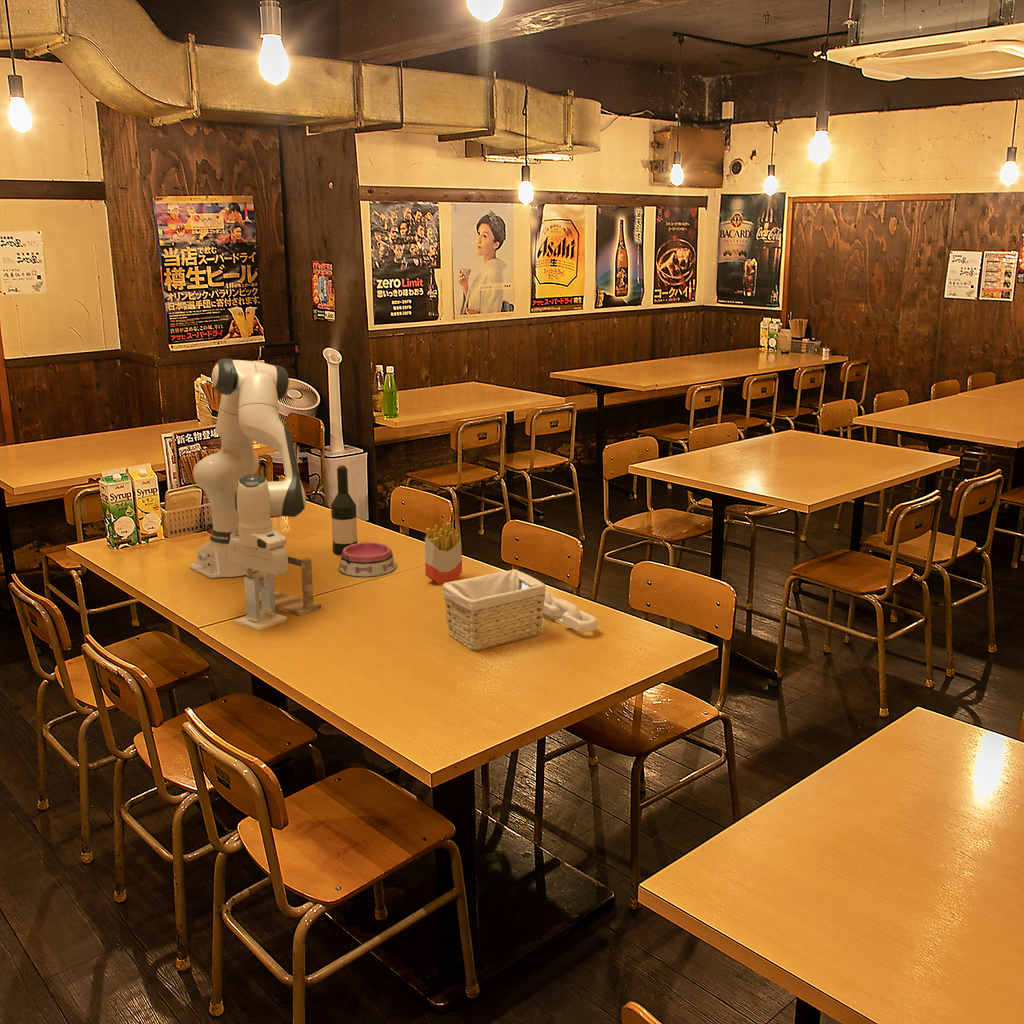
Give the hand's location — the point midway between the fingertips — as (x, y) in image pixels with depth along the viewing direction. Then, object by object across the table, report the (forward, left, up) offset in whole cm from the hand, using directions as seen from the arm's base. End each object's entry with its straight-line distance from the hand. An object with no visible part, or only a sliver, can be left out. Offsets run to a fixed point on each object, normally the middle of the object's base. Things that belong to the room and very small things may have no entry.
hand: (259, 584), depth 264 cm
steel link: (0, 0, -9) cm, 9 cm away
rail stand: (-3, +13, -11) cm, 17 cm away
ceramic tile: (0, 0, -11) cm, 11 cm away
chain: (+66, +49, -11) cm, 83 cm away
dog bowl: (-8, +52, -11) cm, 53 cm away
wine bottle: (-26, +60, -11) cm, 66 cm away
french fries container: (+20, +56, -11) cm, 60 cm away
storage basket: (+58, +29, -11) cm, 66 cm away
